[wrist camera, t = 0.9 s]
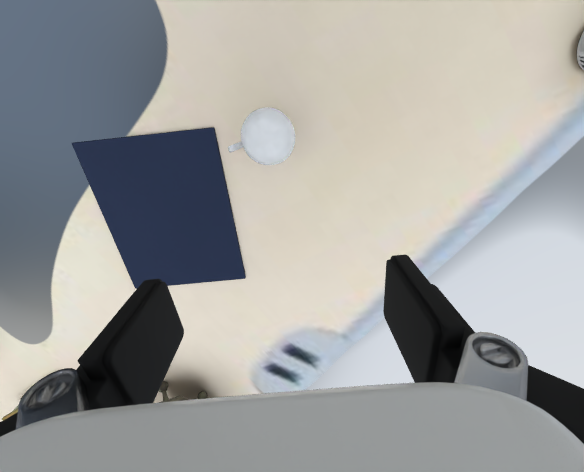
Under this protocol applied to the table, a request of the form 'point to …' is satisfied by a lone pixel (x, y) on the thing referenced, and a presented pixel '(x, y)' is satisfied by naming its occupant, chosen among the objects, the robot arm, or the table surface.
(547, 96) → the table surface
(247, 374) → the table surface
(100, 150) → the mouse pad
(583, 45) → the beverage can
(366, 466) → the robot arm
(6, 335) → the table surface
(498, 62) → the table surface
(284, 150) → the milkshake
